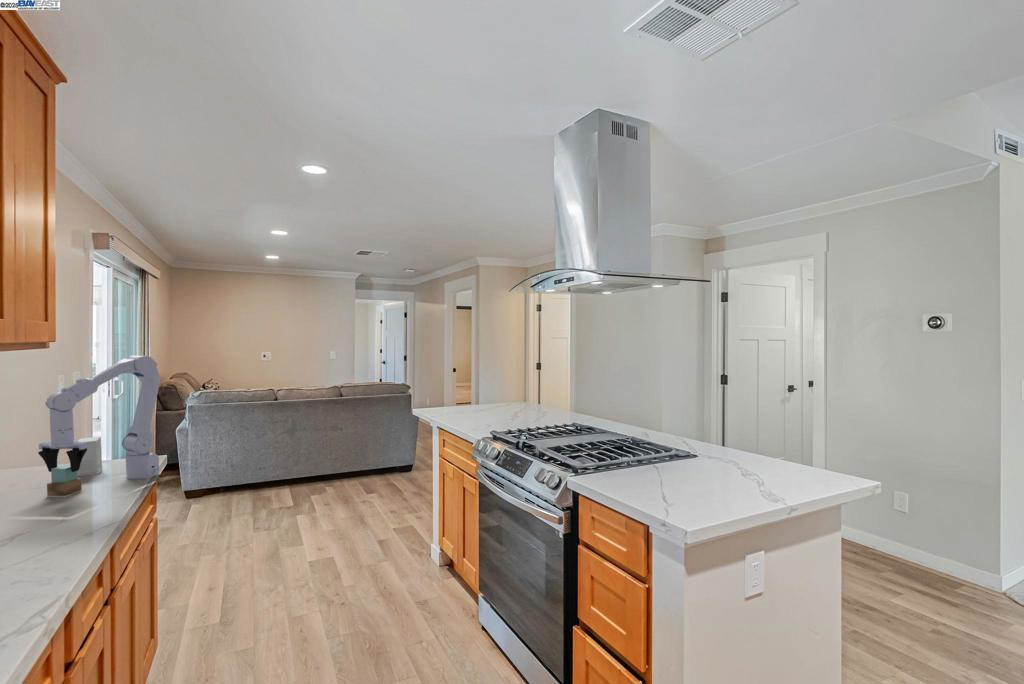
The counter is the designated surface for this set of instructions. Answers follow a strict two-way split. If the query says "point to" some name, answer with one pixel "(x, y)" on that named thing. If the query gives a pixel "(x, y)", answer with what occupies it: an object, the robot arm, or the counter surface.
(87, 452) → the small box
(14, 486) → the counter surface
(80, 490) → the mat
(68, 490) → the walnut block
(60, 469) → the teal block
